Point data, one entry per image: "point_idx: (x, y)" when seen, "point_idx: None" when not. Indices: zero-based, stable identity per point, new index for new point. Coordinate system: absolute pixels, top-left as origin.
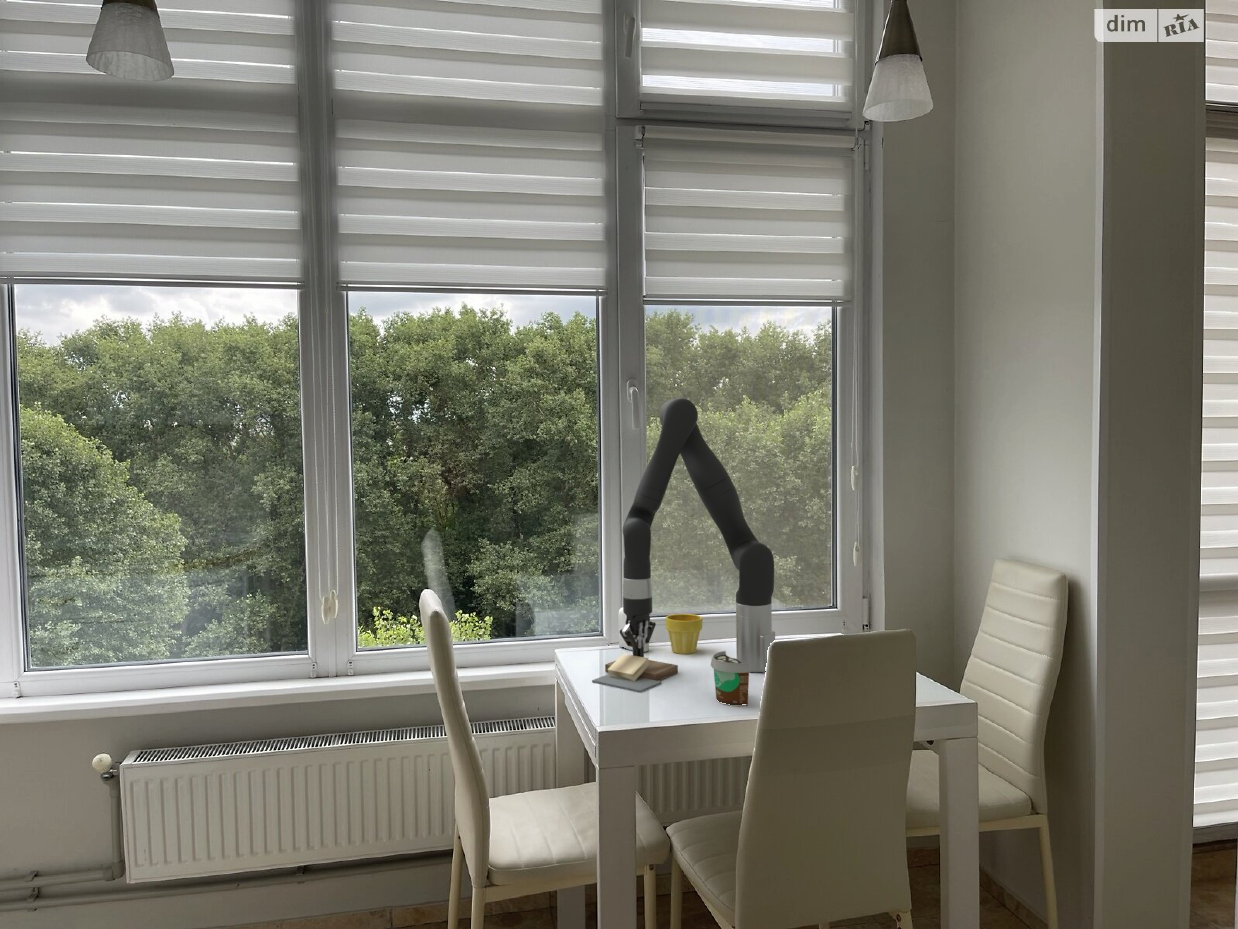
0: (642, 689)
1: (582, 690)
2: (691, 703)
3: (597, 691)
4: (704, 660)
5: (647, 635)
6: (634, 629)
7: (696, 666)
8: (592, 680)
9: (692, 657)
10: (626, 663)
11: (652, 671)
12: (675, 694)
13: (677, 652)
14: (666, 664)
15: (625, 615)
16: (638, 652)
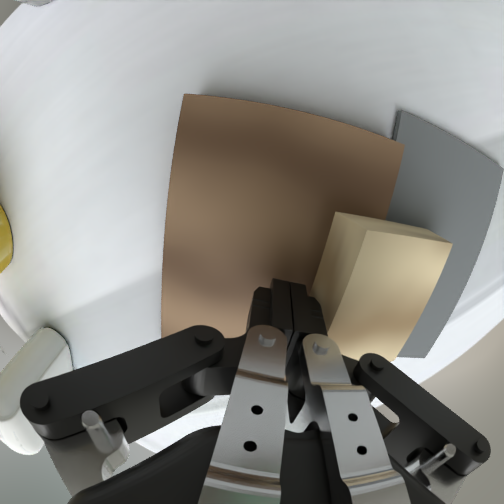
0: (496, 164)
1: (481, 334)
2: (496, 9)
3: (492, 298)
4: (22, 119)
5: (179, 380)
6: (416, 480)
7: (80, 91)
8: (425, 356)
9: (14, 175)
10: (382, 323)
11: (367, 175)
12: (471, 45)
13: (10, 240)
14: (197, 156)
15: (33, 442)
16: (313, 325)
